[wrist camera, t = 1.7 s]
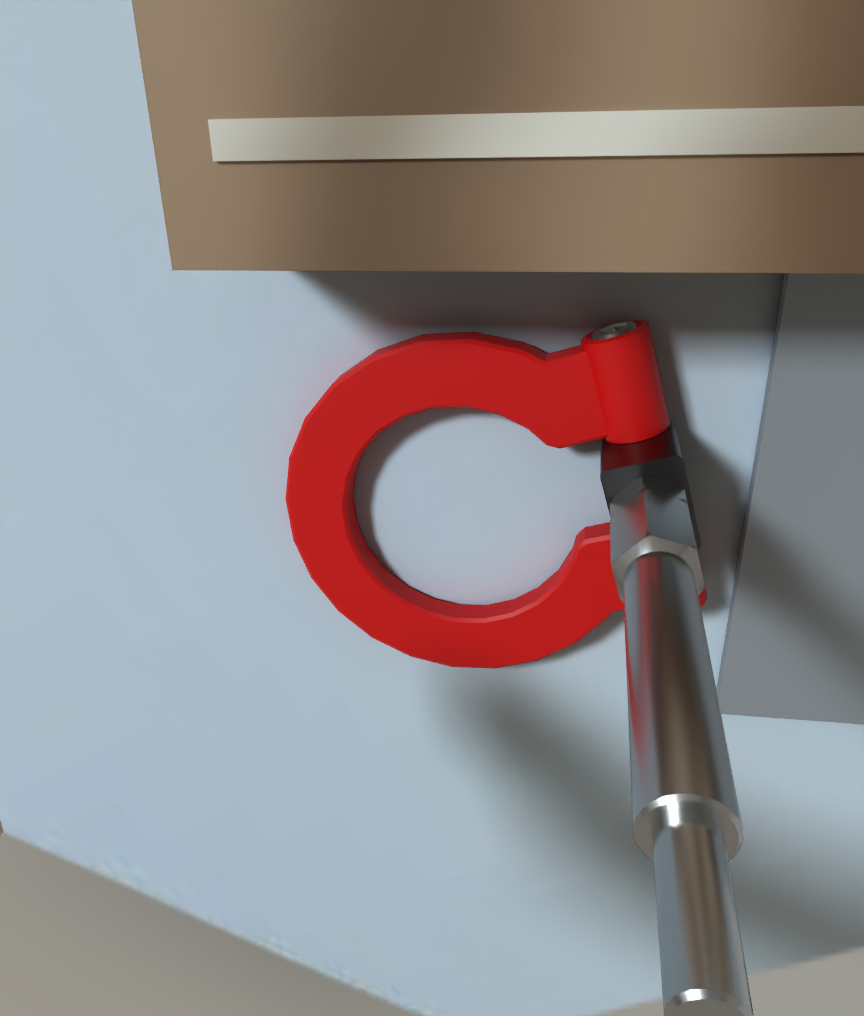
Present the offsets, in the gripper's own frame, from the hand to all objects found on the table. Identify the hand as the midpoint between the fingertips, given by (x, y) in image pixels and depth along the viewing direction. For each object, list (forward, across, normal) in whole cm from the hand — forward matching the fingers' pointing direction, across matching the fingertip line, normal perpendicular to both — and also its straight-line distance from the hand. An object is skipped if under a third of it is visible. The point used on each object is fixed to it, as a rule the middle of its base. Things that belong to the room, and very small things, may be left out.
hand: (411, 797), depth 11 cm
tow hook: (+10, 0, 0) cm, 10 cm away
